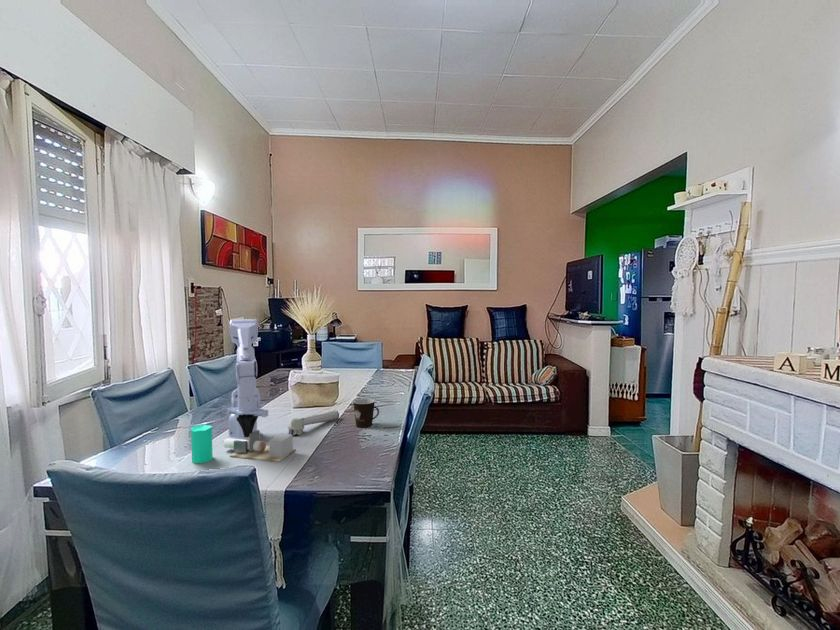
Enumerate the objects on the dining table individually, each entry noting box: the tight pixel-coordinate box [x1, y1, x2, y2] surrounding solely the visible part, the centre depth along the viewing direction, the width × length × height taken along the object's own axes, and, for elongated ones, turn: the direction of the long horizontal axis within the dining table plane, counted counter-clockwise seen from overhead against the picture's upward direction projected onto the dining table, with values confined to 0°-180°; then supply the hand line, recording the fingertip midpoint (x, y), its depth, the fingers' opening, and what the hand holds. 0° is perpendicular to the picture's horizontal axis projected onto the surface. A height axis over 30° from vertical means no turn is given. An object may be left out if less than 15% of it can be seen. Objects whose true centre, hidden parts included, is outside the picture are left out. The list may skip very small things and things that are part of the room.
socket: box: [269, 433, 294, 458], centre depth 134 cm, size 4×6×6 cm
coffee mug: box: [352, 397, 380, 429], centre depth 163 cm, size 12×9×10 cm
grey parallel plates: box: [233, 436, 249, 454], centre depth 137 cm, size 4×6×4 cm
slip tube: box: [223, 429, 267, 452], centre depth 137 cm, size 14×4×6 cm, turn 76°
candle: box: [190, 422, 214, 464], centre depth 130 cm, size 6×6×12 cm
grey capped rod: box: [287, 410, 340, 436], centre depth 163 cm, size 5×7×25 cm
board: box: [229, 445, 297, 463], centre depth 136 cm, size 18×10×1 cm, turn 76°
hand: (248, 436), depth 137 cm, fingers closed
